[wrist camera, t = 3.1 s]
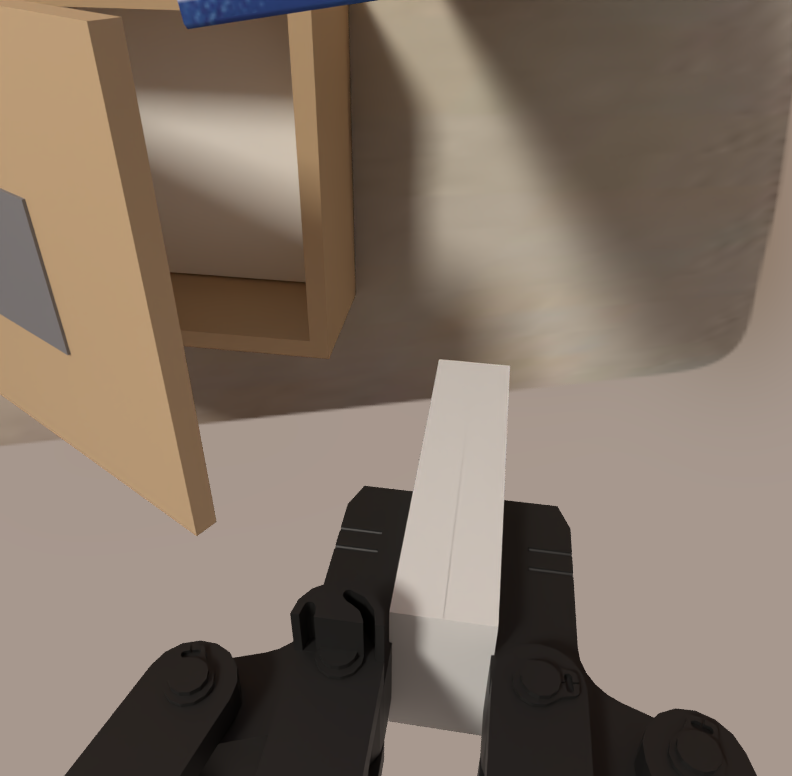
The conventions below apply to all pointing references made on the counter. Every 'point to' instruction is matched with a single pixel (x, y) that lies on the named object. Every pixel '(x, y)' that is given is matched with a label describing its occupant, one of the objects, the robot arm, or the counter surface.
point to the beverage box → (247, 9)
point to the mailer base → (248, 170)
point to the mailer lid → (90, 261)
